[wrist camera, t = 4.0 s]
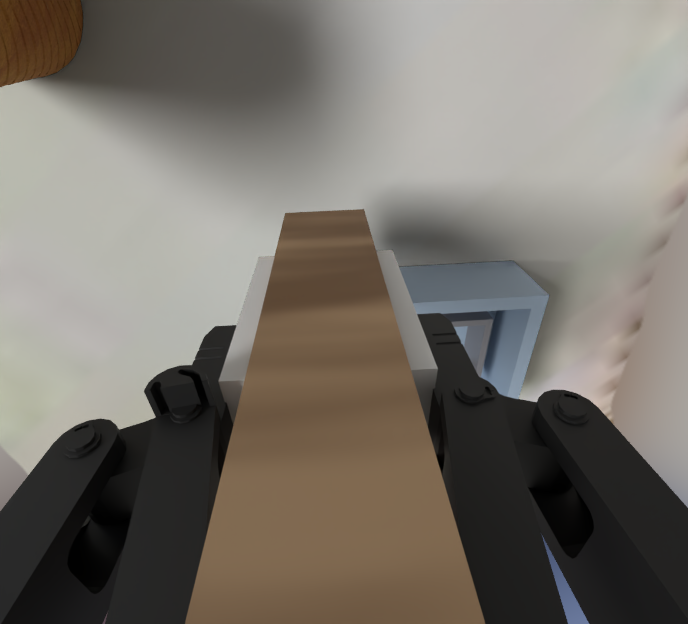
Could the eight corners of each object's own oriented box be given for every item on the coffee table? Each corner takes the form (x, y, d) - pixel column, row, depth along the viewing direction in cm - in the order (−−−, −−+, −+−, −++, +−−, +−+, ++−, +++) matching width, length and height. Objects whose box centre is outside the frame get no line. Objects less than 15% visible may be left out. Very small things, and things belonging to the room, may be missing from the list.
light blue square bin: (358, 269, 24) (365, 305, 20) (513, 260, 24) (549, 295, 20) (360, 385, 29) (366, 431, 25) (486, 377, 29) (511, 421, 26)
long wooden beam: (285, 212, 17) (135, 823, 3) (363, 209, 17) (534, 790, 3) (293, 282, 18) (222, 842, 5) (364, 278, 19) (471, 819, 5)
